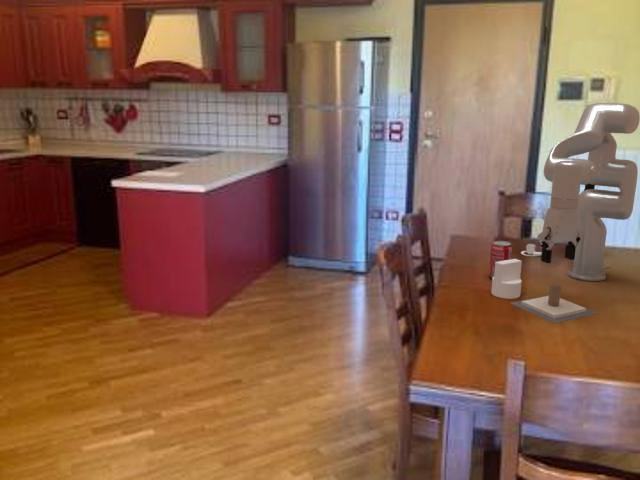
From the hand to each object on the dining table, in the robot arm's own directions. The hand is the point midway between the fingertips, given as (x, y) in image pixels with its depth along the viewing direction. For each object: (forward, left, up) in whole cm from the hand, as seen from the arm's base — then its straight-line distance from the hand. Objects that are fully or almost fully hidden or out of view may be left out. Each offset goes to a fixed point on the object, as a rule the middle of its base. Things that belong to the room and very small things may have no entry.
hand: (557, 260), depth 177 cm
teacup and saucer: (-40, -50, -17) cm, 67 cm away
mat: (0, 0, -16) cm, 16 cm away
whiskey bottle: (-60, -41, -16) cm, 75 cm away
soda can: (-8, -32, -16) cm, 37 cm away
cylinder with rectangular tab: (+4, -16, -16) cm, 23 cm away
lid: (0, 0, -15) cm, 15 cm away
